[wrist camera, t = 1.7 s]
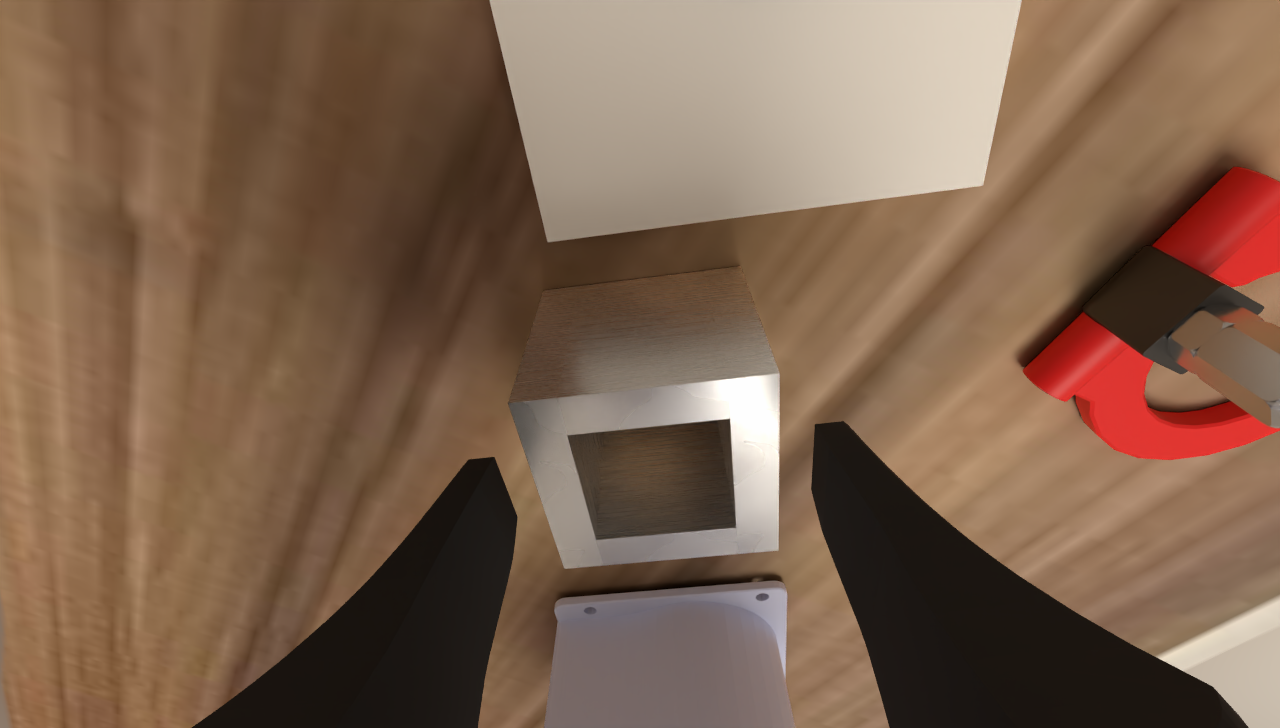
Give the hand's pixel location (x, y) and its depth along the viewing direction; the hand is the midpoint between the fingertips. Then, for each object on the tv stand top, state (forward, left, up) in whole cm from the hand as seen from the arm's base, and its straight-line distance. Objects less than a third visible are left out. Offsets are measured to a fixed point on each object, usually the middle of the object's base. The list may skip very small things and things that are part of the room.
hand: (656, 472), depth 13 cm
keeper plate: (+3, +10, -5) cm, 11 cm away
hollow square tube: (0, 0, -5) cm, 5 cm away
